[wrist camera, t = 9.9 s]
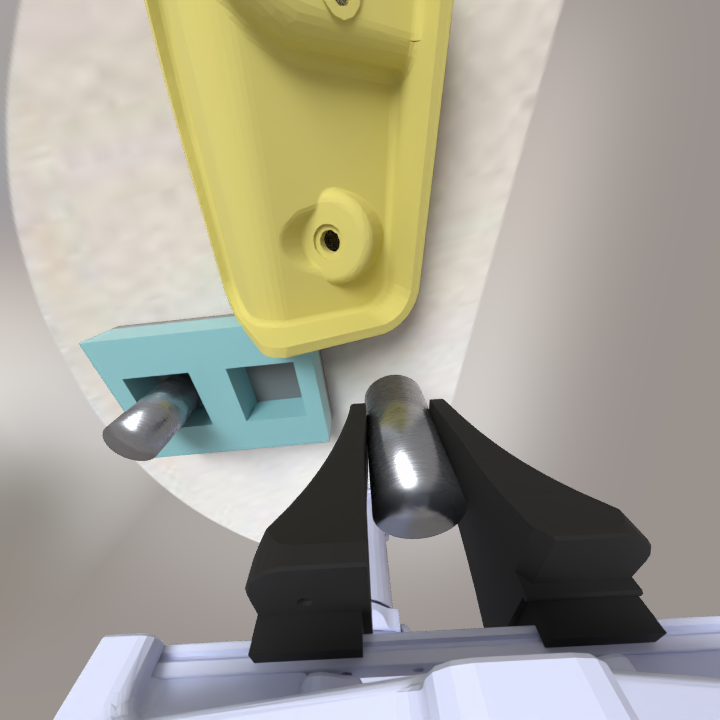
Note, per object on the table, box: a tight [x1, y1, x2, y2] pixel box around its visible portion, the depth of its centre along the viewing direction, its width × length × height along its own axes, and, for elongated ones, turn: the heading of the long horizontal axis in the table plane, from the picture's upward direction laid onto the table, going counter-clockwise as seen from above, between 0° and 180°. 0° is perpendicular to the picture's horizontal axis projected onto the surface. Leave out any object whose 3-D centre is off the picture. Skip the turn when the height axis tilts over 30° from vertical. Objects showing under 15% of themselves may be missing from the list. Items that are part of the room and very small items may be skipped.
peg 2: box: [365, 375, 467, 539], centre depth 11 cm, size 3×3×6 cm
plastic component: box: [144, 0, 453, 358], centre depth 12 cm, size 20×7×10 cm
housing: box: [79, 314, 332, 458], centre depth 19 cm, size 10×14×3 cm
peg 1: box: [103, 373, 203, 461], centre depth 18 cm, size 3×3×6 cm
